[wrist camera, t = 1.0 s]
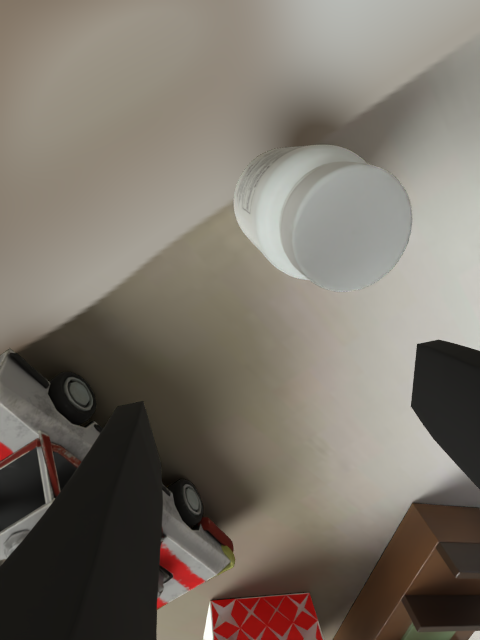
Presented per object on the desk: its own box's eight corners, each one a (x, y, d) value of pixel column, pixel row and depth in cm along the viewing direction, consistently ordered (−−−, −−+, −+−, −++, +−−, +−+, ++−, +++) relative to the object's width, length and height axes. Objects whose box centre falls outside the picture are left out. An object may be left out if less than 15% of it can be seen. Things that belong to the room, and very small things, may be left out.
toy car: (142, 577, 26) (131, 733, 19) (-92, 410, 18) (-254, 565, 11) (236, 523, 25) (259, 663, 18) (33, 325, 17) (-59, 435, 11)
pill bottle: (336, 228, 18) (440, 274, 11) (251, 262, 18) (300, 330, 11) (313, 131, 16) (420, 113, 9) (218, 169, 16) (251, 180, 9)
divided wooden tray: (508, 509, 29) (569, 574, 25) (411, 646, 36) (445, 717, 31) (412, 502, 27) (459, 572, 23) (326, 649, 33) (350, 727, 29)
